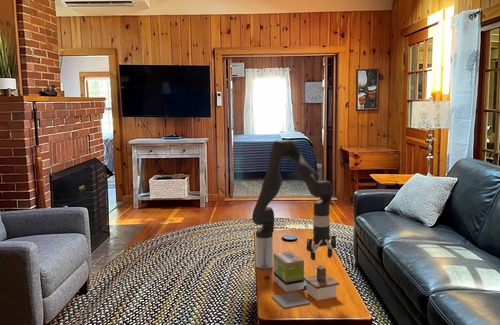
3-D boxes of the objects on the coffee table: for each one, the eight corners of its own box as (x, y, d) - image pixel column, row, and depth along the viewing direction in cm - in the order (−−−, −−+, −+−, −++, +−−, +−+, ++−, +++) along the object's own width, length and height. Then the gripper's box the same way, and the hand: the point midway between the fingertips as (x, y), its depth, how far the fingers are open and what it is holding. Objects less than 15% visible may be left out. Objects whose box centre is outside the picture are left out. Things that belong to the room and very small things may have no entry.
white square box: (306, 292, 208) (306, 280, 208) (324, 288, 212) (324, 276, 211) (317, 300, 199) (317, 287, 198) (336, 296, 203) (336, 284, 202)
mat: (271, 297, 203) (271, 296, 203) (296, 292, 208) (296, 291, 208) (284, 308, 191) (284, 307, 191) (310, 303, 196) (310, 302, 196)
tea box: (273, 281, 222) (272, 253, 221) (291, 278, 226) (290, 250, 224) (285, 292, 208) (285, 262, 207) (304, 289, 212) (304, 259, 210)
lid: (303, 279, 208) (303, 265, 207) (325, 275, 213) (325, 261, 212) (316, 289, 197) (316, 273, 196) (339, 284, 202) (339, 270, 201)
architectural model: (317, 281, 222) (317, 267, 221) (313, 276, 229) (313, 263, 228) (323, 281, 222) (323, 267, 221) (320, 276, 229) (320, 262, 228)
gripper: (330, 220, 208) (330, 254, 210) (303, 224, 203) (303, 258, 204) (339, 224, 201) (339, 258, 203) (312, 227, 196) (312, 263, 197)
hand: (321, 258), depth 204 cm, fingers open, 8 cm apart
